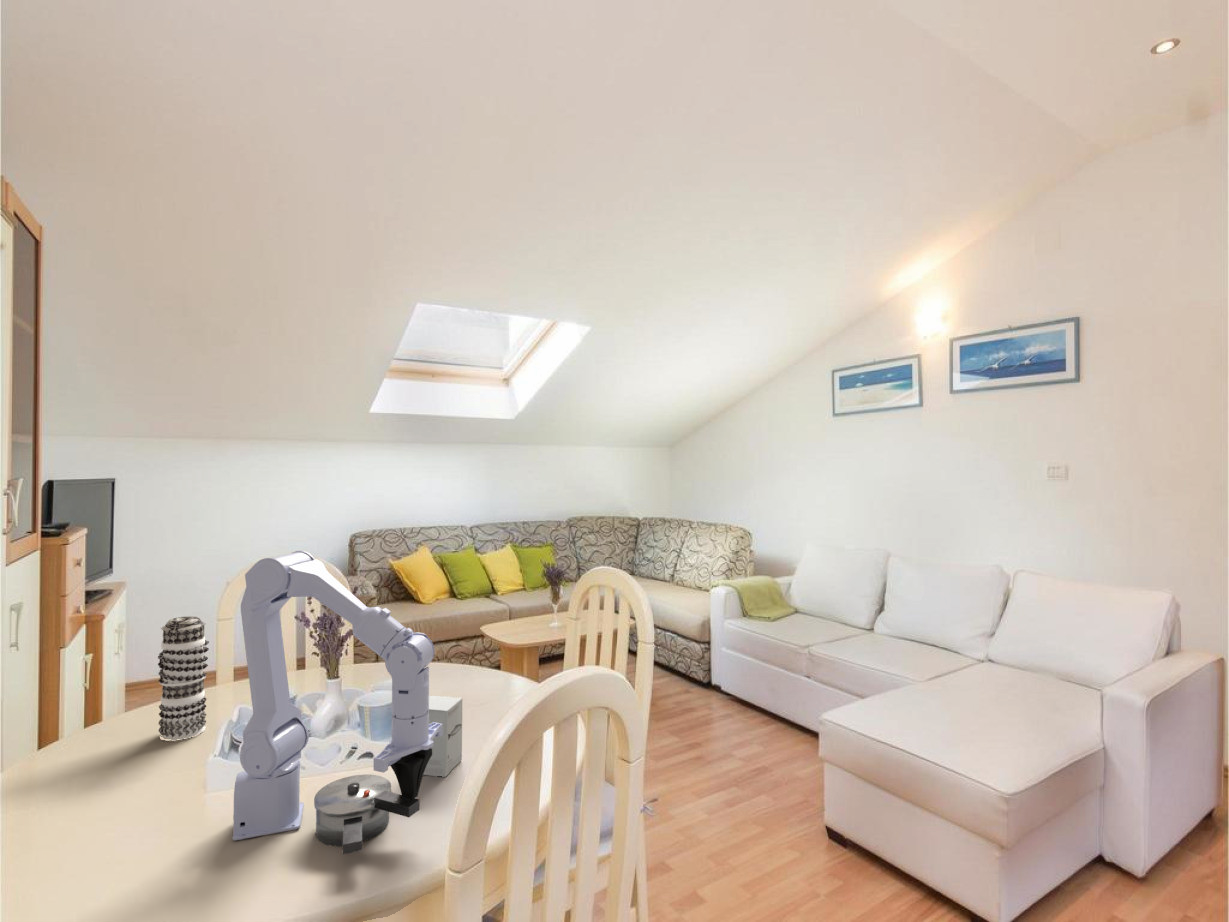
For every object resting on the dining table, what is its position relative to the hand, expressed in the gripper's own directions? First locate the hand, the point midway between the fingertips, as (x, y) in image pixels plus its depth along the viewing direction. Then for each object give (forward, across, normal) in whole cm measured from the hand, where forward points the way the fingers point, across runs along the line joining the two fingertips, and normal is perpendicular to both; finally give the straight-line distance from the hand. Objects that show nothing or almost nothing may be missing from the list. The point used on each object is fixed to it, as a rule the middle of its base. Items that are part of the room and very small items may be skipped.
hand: (409, 796), depth 103 cm
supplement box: (+6, +20, +9) cm, 22 cm away
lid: (+1, -3, +6) cm, 6 cm away
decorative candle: (+6, +12, +70) cm, 72 cm away
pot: (+5, -5, +7) cm, 10 cm away
